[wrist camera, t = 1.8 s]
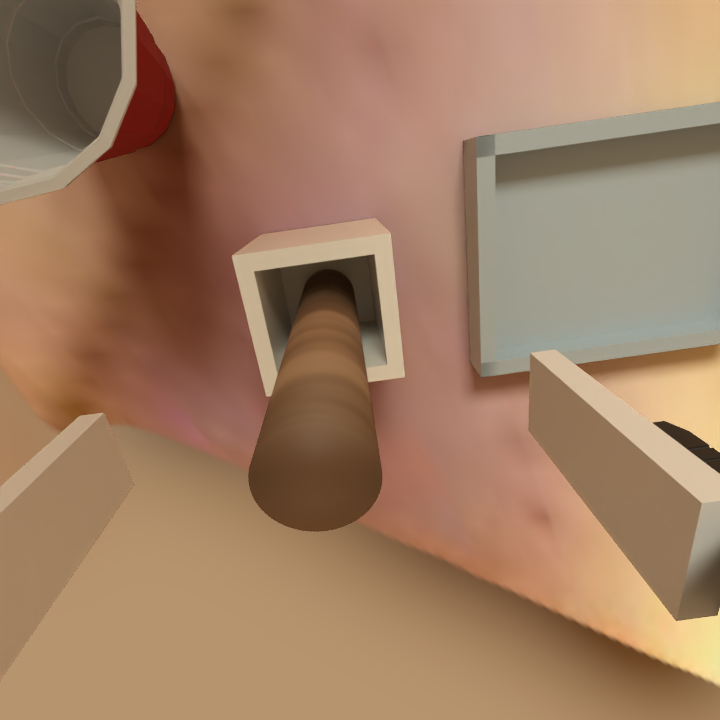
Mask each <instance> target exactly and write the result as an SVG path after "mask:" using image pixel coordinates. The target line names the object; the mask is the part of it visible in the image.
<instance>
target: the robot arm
mask: <svg viewBox="0 0 720 720" xmlns="http://www.w3.org/2000/svg"><path fill="white" fill-rule="evenodd" d="M528 430H529V432H530V433H531V434H532V435H533V437H534V438H535V439H536V441H537V442H538V443H539V445H540V446H541V447H542V448H543V450H544V451H545V452H546V454H547V455H548V456H549V457H550V459H551V460H552V461H553V463H554V464H555V465H556V466H557V468H558V469H559V470H560V472H561V473H562V474H563V475H564V477H565V478H566V479H567V481H568V482H569V483H570V485H571V486H572V487H573V488H574V490H575V491H576V492H577V494H578V495H579V496H580V497H581V499H582V500H583V501H584V503H585V504H586V505H587V506H588V508H589V509H590V510H591V512H592V513H593V514H594V516H595V517H596V518H597V519H598V521H599V522H600V523H601V525H602V526H603V527H604V528H605V530H606V531H607V532H608V534H609V535H610V536H611V537H612V539H613V540H614V541H615V543H616V544H617V545H618V546H619V548H620V549H621V550H622V552H623V553H624V554H625V556H626V557H627V558H628V559H629V561H630V562H631V563H632V565H633V566H634V567H635V568H636V570H637V571H638V572H639V574H640V575H641V576H642V577H643V579H644V580H645V581H646V583H647V584H648V585H649V586H650V588H651V589H652V590H653V592H654V593H655V594H656V596H657V597H658V598H659V599H660V601H661V602H662V603H663V605H664V606H665V607H666V608H667V610H668V611H669V612H670V614H671V615H672V616H673V617H674V619H675V620H676V621H679V620H686V619H693V618H701V617H708V616H716V615H718V611H719V608H720V453H719V452H718V451H717V450H715V449H714V448H710V447H709V445H708V444H707V443H705V442H704V441H702V440H701V439H700V438H698V437H697V436H695V435H694V434H692V433H691V432H690V431H687V430H685V429H682V428H680V427H677V426H675V425H673V424H670V423H668V422H665V421H661V422H654V423H652V422H650V421H649V420H648V419H646V418H645V417H644V416H643V415H641V414H640V413H639V412H637V411H636V410H635V409H633V408H632V407H631V406H629V405H628V404H627V403H625V402H624V401H623V400H621V399H620V398H619V397H617V396H616V395H615V394H614V393H612V392H611V391H610V390H608V389H607V388H606V387H604V386H603V385H602V384H600V383H599V382H598V381H596V380H595V379H594V378H592V377H591V376H590V375H588V374H587V373H586V372H584V371H583V370H582V369H581V368H579V367H578V366H577V365H575V364H574V363H573V362H571V361H570V360H569V359H567V358H566V357H565V356H563V355H562V354H561V353H559V352H558V351H557V350H555V349H554V350H547V351H540V352H533V353H530V383H529V429H528ZM133 486H134V484H133V481H132V479H131V476H130V474H129V471H128V469H127V467H126V464H125V462H124V459H123V457H122V455H121V452H120V450H119V447H118V445H117V443H116V440H115V438H114V435H113V433H112V431H111V428H110V426H109V423H108V421H107V418H106V416H105V413H97V414H90V415H83V416H79V417H78V418H77V419H76V420H74V421H73V422H72V423H71V424H70V425H69V426H68V427H67V428H65V429H64V430H63V431H62V432H61V433H60V434H59V435H58V436H56V437H55V438H54V439H53V440H52V441H51V442H50V443H49V444H47V445H46V446H45V447H44V448H43V449H42V450H41V451H40V452H39V453H37V454H36V455H35V456H34V457H33V458H32V459H31V460H29V461H28V462H27V463H26V464H25V465H24V466H23V467H22V468H21V469H19V470H18V471H17V472H16V473H15V474H14V475H13V476H12V477H10V478H9V479H8V480H7V481H6V482H5V483H4V484H3V485H2V486H0V681H1V679H2V678H3V676H4V675H5V673H6V672H7V670H8V669H9V668H10V666H11V665H12V663H13V662H14V660H15V659H16V657H17V656H18V654H19V653H20V651H21V650H22V648H23V647H24V645H25V644H26V643H27V641H28V640H29V638H30V637H31V635H32V634H33V632H34V631H35V629H36V628H37V626H38V625H39V624H40V622H41V621H42V619H43V618H44V616H45V615H46V613H47V612H48V610H49V609H50V608H51V606H52V605H53V603H54V602H55V600H56V599H57V597H58V595H59V594H60V593H61V591H62V590H63V588H64V587H65V585H66V584H67V583H68V581H69V579H70V578H71V577H72V575H73V574H74V572H75V571H76V569H77V568H78V566H79V565H80V563H81V562H82V561H83V559H84V558H85V556H86V555H87V553H88V552H89V550H90V549H91V547H92V546H93V544H94V543H95V541H96V540H97V538H98V537H99V536H100V534H101V533H102V531H103V530H104V528H105V527H106V525H107V524H108V522H109V521H110V519H111V518H112V517H113V515H114V514H115V512H116V511H117V509H118V508H119V506H120V505H121V503H122V502H123V500H124V499H125V498H126V496H127V495H128V493H129V492H130V490H131V489H132V487H133Z"/></svg>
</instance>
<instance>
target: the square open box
mask: <svg viewBox="0 0 720 720" xmlns="http://www.w3.org/2000/svg"><path fill="white" fill-rule="evenodd" d="M232 260H233V264H234V268H235V272H236V276H237V280H238V284H239V288H240V292H241V296H242V300H243V304H244V308H245V312H246V316H247V320H248V324H249V328H250V333H251V337H252V341H253V345H254V349H255V353H256V357H257V361H258V365H259V369H260V373H261V377H262V381H263V385H264V389H265V393H266V397H268V396H271V395H272V392H273V388H274V385H275V382H276V378H277V375H278V372H279V369H280V365H281V362H282V359H283V355H284V352H285V349H286V345H287V342H288V339H289V336H290V332H291V329H292V326H293V322H294V319H295V316H296V312H297V309H298V306H299V303H300V299H301V296H302V293H303V289H304V286H305V284H306V282H307V280H308V279H309V278H310V277H311V276H312V275H313V274H314V273H316V272H318V271H321V270H325V269H332V270H336V271H339V272H341V273H343V274H344V275H345V276H346V277H347V278H348V279H349V280H350V282H351V283H352V285H353V289H354V294H355V301H356V307H357V313H358V320H359V326H360V333H361V339H362V346H363V352H364V359H365V365H366V372H367V378H368V382H374V381H381V380H388V379H395V378H402V377H405V372H404V362H403V352H402V342H401V332H400V322H399V312H398V302H397V292H396V282H395V272H394V262H393V252H392V242H391V233H390V232H389V231H388V230H387V229H386V228H385V227H384V226H383V225H382V224H381V223H380V222H379V221H378V220H377V219H376V218H371V219H364V220H357V221H350V222H343V223H336V224H329V225H322V226H315V227H308V228H301V229H294V230H287V231H280V232H274V233H267V234H261V235H260V236H258V237H257V238H255V239H254V240H253V241H251V242H250V243H249V244H247V245H246V246H244V247H243V248H242V249H240V250H239V251H238V252H236V253H235V254H233V255H232Z"/></svg>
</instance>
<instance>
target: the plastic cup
mask: <svg viewBox="0 0 720 720" xmlns="http://www.w3.org/2000/svg"><path fill="white" fill-rule="evenodd" d="M174 111H175V86H174V81H173V79H172V76H171V73H170V70H169V67H168V64H167V61H166V58H165V56H164V55H163V54H162V52H161V51H160V49H159V48H158V47H157V45H156V44H155V41H154V39H153V36H152V34H151V33H150V31H149V30H148V28H147V26H146V25H145V23H144V22H143V20H142V18H141V17H140V15H139V14H138V12H137V10H136V3H135V0H0V205H1V204H5V203H9V202H13V201H17V200H21V199H25V198H29V197H33V196H37V195H41V194H45V193H49V192H52V191H56V190H60V189H63V188H65V187H66V186H68V185H69V184H70V183H71V182H72V181H73V180H74V179H76V178H77V177H78V176H79V175H80V174H81V173H82V172H84V171H85V170H86V169H87V168H88V167H90V166H91V165H92V164H93V163H95V162H99V161H103V160H106V159H110V158H113V157H117V156H121V155H124V154H128V153H132V152H135V151H136V150H137V149H138V148H142V147H146V146H150V145H151V144H152V143H153V142H154V141H155V140H157V139H158V138H159V137H160V136H161V135H162V134H163V133H164V132H165V131H166V130H167V128H168V126H169V123H170V121H171V118H172V116H173V113H174Z"/></svg>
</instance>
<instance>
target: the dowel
mask: <svg viewBox="0 0 720 720" xmlns="http://www.w3.org/2000/svg"><path fill="white" fill-rule="evenodd" d="M248 477H249V486H250V490H251V493H252V495H253V497H254V499H255V501H256V503H257V504H258V506H259V507H260V508H261V509H262V510H263V511H264V512H265V513H266V514H267V515H268V516H269V517H271V518H272V519H274V520H275V521H277V522H279V523H281V524H283V525H285V526H288V527H291V528H294V529H298V530H304V531H328V530H333V529H337V528H340V527H343V526H345V525H348V524H350V523H352V522H354V521H356V520H357V519H359V518H360V517H361V516H363V515H364V514H365V513H366V512H367V511H368V510H369V509H370V508H371V507H372V505H373V504H374V502H375V501H376V499H377V497H378V495H379V493H380V489H381V485H382V469H381V462H380V456H379V449H378V443H377V436H376V430H375V423H374V417H373V411H372V404H371V398H370V391H369V385H368V378H367V372H366V365H365V359H364V352H363V346H362V339H361V333H360V326H359V320H358V313H357V307H356V301H355V294H354V289H353V285H352V283H351V282H350V280H349V279H348V278H347V277H346V276H345V275H344V274H343V273H341V272H339V271H336V270H332V269H325V270H321V271H318V272H316V273H314V274H313V275H312V276H311V277H310V278H309V279H308V280H307V282H306V284H305V286H304V289H303V293H302V296H301V299H300V303H299V306H298V309H297V312H296V316H295V319H294V322H293V326H292V329H291V332H290V336H289V339H288V342H287V345H286V349H285V352H284V355H283V359H282V362H281V365H280V369H279V372H278V375H277V378H276V382H275V385H274V388H273V392H272V395H271V398H270V401H269V405H268V408H267V411H266V415H265V418H264V421H263V425H262V428H261V431H260V434H259V438H258V441H257V444H256V448H255V451H254V454H253V458H252V461H251V464H250V468H249V475H248Z"/></svg>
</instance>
